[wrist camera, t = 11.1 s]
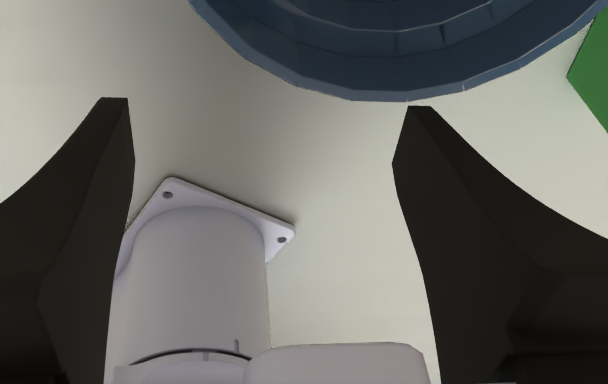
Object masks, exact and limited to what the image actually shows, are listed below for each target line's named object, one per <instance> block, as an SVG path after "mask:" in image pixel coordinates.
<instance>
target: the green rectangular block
mask: <svg viewBox="0 0 608 384" xmlns="http://www.w3.org/2000/svg"><path fill="white" fill-rule="evenodd" d="M567 79H568V81H569V82H570V83H571V85H572V86H573V87H574V89H575V90H576V91H577V93H578V94H579V96H580V97H581V98H582V100H583V101H584V102H585V104H586V105H587V106H588V108H589V109H590V110H591V112H592V113H593V114H594V116H595V117H596V118H597V120H598V121H599V122H600V124H601V125H602V126H603V128H604V129H605V130H606V132H607V133H608V6H607V7H606V8H604V9H603V10H602V11H601V12H600V13H599V14H598V15H597V16H596V18H595V20H594V22H593V24H592V26H591V28H590V30H589V32H588V35H587V37H586V39H585V41H584V43H583V45H582V47H581V49H580V51H579V53H578V55H577V57H576V59H575V61H574V63H573V65H572V67H571V69H570V71H569V73H568V75H567Z"/></svg>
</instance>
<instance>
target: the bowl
mask: <svg viewBox="0 0 608 384" xmlns="http://www.w3.org/2000/svg"><path fill="white" fill-rule="evenodd" d="M187 1H188V2H189V4H190V5H191V7H192V8H193V10H194V12H196V13H197V15H198V16H199V17H200V18H201V19H202V20H203V21H204V22H205V23H207V24H208V25H209V26H210V27H211V28H212V29H213V30H214V31H215V32H216V33H217V34H218V35H219V36H220V37H221V38H223V39H224V40H225V41H226V42H227V43H228V44H229V45H230V46H231V47H232V48H233V49H234V50H235V51H236V52H237V53H239V54H240V55H241V56H242V57H244V58H245V59H246V60H248V61H250V62H252V63H254V64H255V65H257V66H259V67H261V68H263V69H265V70H266V71H268V72H270V73H272V74H274V75H275V76H277V77H279V78H281V79H283V80H285V81H286V82H288V83H290V84H292V85H295V86H296V87H300V88H304V89H307V90H311V91H315V92H319V93H323V94H326V95H330V96H334V97H338V98H341V99H345V100H350V101H375V102H410V101H415V100H421V99H426V98H432V97H437V96H442V95H448V94H453V93H458V92H463V91H466V90H469V89H471V88H474V87H476V86H479V85H481V84H484V83H486V82H489V81H491V80H494V79H496V78H499V77H501V76H504V75H506V74H509V73H511V72H514V71H516V70H519V69H520V68H522V67H524V66H526V65H527V64H529V63H530V62H532V61H534V60H535V59H537V58H538V57H540V56H542V55H543V54H545V53H546V52H548V51H549V50H551V49H553V48H554V47H556V46H557V45H559V44H561V43H562V42H564V41H565V40H567V39H568V38H570V37H572V36H573V35H575V34H576V33H577V31H578V32H579V31H580V30H581V29H582V28H584V27H585V26H586V25H587V24H588V23H589V22H590V21H591V20H592V19H593V18H595V17H596V16H597V15H598V14H599V13H600V12H601V11H602V10H603V9H604V8H606V7H607V6H608V0H187Z"/></svg>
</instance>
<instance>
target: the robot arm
mask: <svg viewBox="0 0 608 384" xmlns="http://www.w3.org/2000/svg"><path fill="white" fill-rule="evenodd" d="M392 168H393V174H394V180H395V186H396V191H397V196H398V199H399V202H400V206H401V209H402V212H403V215H404V218H405V221H406V224H407V227H408V230H409V233H410V236H411V239H412V242H413V245H414V248H415V251H416V254H417V257H418V260H419V264H420V267H421V271H422V274H423V279H424V284H425V288H426V293H427V298H428V303H429V308H430V314H431V319H432V325H433V330H434V336H435V343H436V349H437V356H438V362H439V369H440V377H441V384H608V239H606V238H604V237H602V236H600V235H598V234H596V233H594V232H592V231H590V230H588V229H586V228H584V227H582V226H580V225H578V224H577V223H575V222H573V221H571V220H569V219H567V218H566V217H564V216H562V215H561V214H559V213H557V212H556V211H554V210H552V209H551V208H549V207H547V206H546V205H544V204H543V203H541V202H540V201H538V200H537V199H535V198H534V197H532V196H531V195H529V194H528V193H527V192H525V191H524V190H522V189H521V188H520V187H518V186H517V185H515V184H514V183H513V182H512V181H510V180H509V179H508V178H507V177H505V176H504V175H503V174H502V173H501V172H499V171H498V170H497V169H496V168H495V167H493V166H492V165H491V164H490V163H489V162H488V161H487V160H485V159H484V158H483V157H482V156H481V155H480V154H479V153H478V152H477V151H476V150H475V149H474V148H473V147H471V146H470V145H469V144H468V143H467V142H466V141H465V140H464V139H463V138H462V137H461V136H460V135H459V134H458V133H457V132H456V131H455V130H454V129H453V128H452V127H451V126H450V125H449V124H448V123H447V122H446V121H445V120H444V119H443V118H442V117H441V116H440V115H439V114H438V113H437V112H436V111H435V110H434V109H433V108H432V107H431V106H408V108H407V112H406V115H405V119H404V122H403V126H402V130H401V133H400V137H399V140H398V144H397V147H396V151H395V154H394V158H393V161H392ZM134 170H135V154H134V146H133V139H132V131H131V123H130V115H129V107H128V99H127V98H111V97H101V98H100V99H99V100H98V101H97V102H96V104H95V105H94V107H93V108H92V109H91V111H90V112H89V113H88V115H87V116H86V117H85V119H84V120H83V121H82V123H81V124H80V125H79V126H78V128H77V129H76V130H75V132H74V133H73V134H72V135H71V136H70V137H69V139H68V140H67V141H66V142H65V143H64V145H63V146H62V147H61V148H60V149H59V150H58V151H57V152H56V154H55V155H54V156H53V157H52V158H51V159H50V160H49V161H48V162H47V163H46V164H45V165H44V166H43V167H42V168H41V169H40V170H39V171H38V172H37V173H36V174H35V175H34V176H33V177H32V178H31V179H30V180H28V181H27V182H26V183H25V184H24V185H23V186H22V187H20V188H19V189H18V190H17V191H16V192H15V193H13V194H12V195H11V196H10V197H8V198H7V199H6V200H4V201H3V202H2V203H0V384H431V382H430V379H429V375H428V371H427V368H426V364H425V360H424V357H423V354H422V353H421V352H419V351H418V350H416V349H415V348H413V347H412V346H410V345H408V344H403V343H394V342H369V343H340V344H311V345H289V346H284V347H278V348H271V334H270V319H269V305H268V290H267V276H266V264H267V263H268V262H269V261H270V260H271V259H272V258H273V257H274V256H275V255H276V254H277V253H278V252H279V251H280V250H281V249H282V248H284V247H285V246H286V245H287V244H288V243H289V242H290V241H291V240H292V239H293V238H294V236H295V235H296V231H295V227H294V226H293V225H291V224H288V223H286V222H283V221H281V220H279V219H276V218H274V217H271V216H269V215H266V214H264V213H261V212H259V211H257V210H254V209H252V208H249V207H247V206H244V205H242V204H239V203H237V202H234V201H232V200H230V199H227V198H225V197H222V196H220V195H217V194H215V193H212V192H210V191H208V190H205V189H203V188H200V187H198V186H195V185H193V184H190V183H188V182H186V181H183V180H181V179H178V178H175V177H169V178H166V179H165V180H164V181H163V182H162V184H161V185H160V186H159V188H158V189H157V190H156V192H155V193H154V194H153V196H152V197H151V198H150V200H149V201H148V203H147V204H146V205H145V207H144V208H143V209H142V211H141V212H140V213H139V215H138V216H137V218H136V219H135V220H134V222H133V223H132V224H131V226H130V227H129V228H128V230H127V231H126V232H125V234H124V229H125V225H126V221H127V216H128V212H129V207H130V203H131V198H132V192H133V182H134ZM165 192H171V193H169V194H168V193H165ZM123 234H124V235H123ZM280 237H282V238H280Z"/></svg>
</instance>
